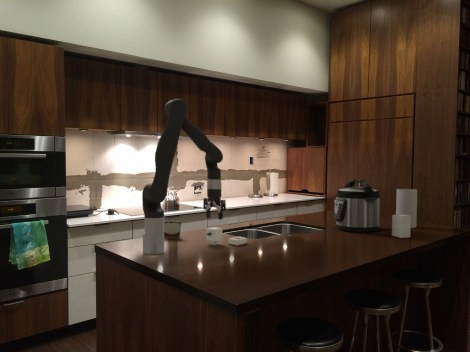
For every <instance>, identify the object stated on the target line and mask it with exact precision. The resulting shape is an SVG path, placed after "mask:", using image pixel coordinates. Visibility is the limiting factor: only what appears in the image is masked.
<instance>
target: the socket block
mask: <svg viewBox="0 0 470 352" xmlns="http://www.w3.org/2000/svg"><path fill="white" fill-rule="evenodd" d="M247 238H248V237H243V236H234V237H229V238H228V245H229V244H230V246H234V245H235V247H238V246H239V247H240V246H242V245H246V243H247V244H248V239H247Z"/></svg>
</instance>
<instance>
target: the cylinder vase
mask: <svg viewBox="0 0 470 352" xmlns="http://www.w3.org/2000/svg"><path fill="white" fill-rule="evenodd" d="M395 202H396V206H395V207H396V208H395V215H397V214H403V215H409V216H411V228H410V229H415V228H417V214H418V213H417V212H418V211H417V209H418V189H414V188H412V189H411V188H396V201H395Z"/></svg>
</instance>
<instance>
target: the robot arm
mask: <svg viewBox="0 0 470 352" xmlns="http://www.w3.org/2000/svg"><path fill="white" fill-rule="evenodd" d="M163 111H164V114H165V115H166V116H167V118H168V119H167V124H166V126H165V128H164V130H163V132H162V134H161V135H160V138H159V140H158V142H157V144H156V150H155V153H154V165H155V172H154V176H153V180H152V182H151V183H150V182H149V183H147V184H145V186H144V187H143V189H142V193H141V194H142V195H141V196H142V197H141V199H142V202H141V203H142V211H143V214H144V215H143V216H144V218H143V219H144V232H143V233H142V253H143V254H145V255H147V256H148V255H149V256H152V255H153V256H154V255H161V254H164V253H165V238H164V220H165V212H164V209H163V208H162V204H161V203H163V202H164V201H165V200H166V199H167V198H166V197H167V193H168V188H169V182H170V176H171V175H170V174H171V171H172V168H173V163H174V159H175V156H176V152H177V148H178V143H179V140H180V135H181V131H182V132H183V133H185V135H186V136H188V137H189V139H190V140H191V141H192V142H193V143H194V145H195V146H196V148H198V150H199V151H201V152H204V154H205V156H204V162H205V166H206V171H207V181H206V196H207V197H203V203H202V204H203V205H202V206H203V207H202V208H203V210H205V213H206V214H205V215H206V218H207V219H209V218H211V212H212V211H211V209H212V208H215V209H217V212H218V216H217V218H218V220H219V221H220V220H223V218H224V217H223V216H224V215H223V214H224V212H226V211H227V205H226V204H227V202H226V199H221V197H222V173H221V172H222V171H221V170H222V169H221V168H219V167H218V166H219V165H218V164H220V163H221V162H222V161H223V159H224V154H223V152H222V151H221V149H220V148H219V147H217V146H216V145H215V144H214V143H213V142H212V141H211V140H210V139H209V138H208V137H207V135H206V134H205V133H204V132H203V131H202V130H201V129H200V128H199V127H197V126H196V125H195V124H194V123H192V122H191V121H190V119H189V118H188V117H187V114H188V104H187V103H186V101H185V100H184V99H183V98H175V99H171V100H169V101H168V102H166V103H165V104H164V107H163Z"/></svg>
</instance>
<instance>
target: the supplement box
mask: <svg viewBox="0 0 470 352" xmlns="http://www.w3.org/2000/svg"><path fill="white" fill-rule="evenodd" d="M391 220H392V221H391V236H393V237H396V238H400V239H403V238H411V229H412V228H411V216H409V215H403V214H397V215H396V214H392V216H391Z"/></svg>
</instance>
